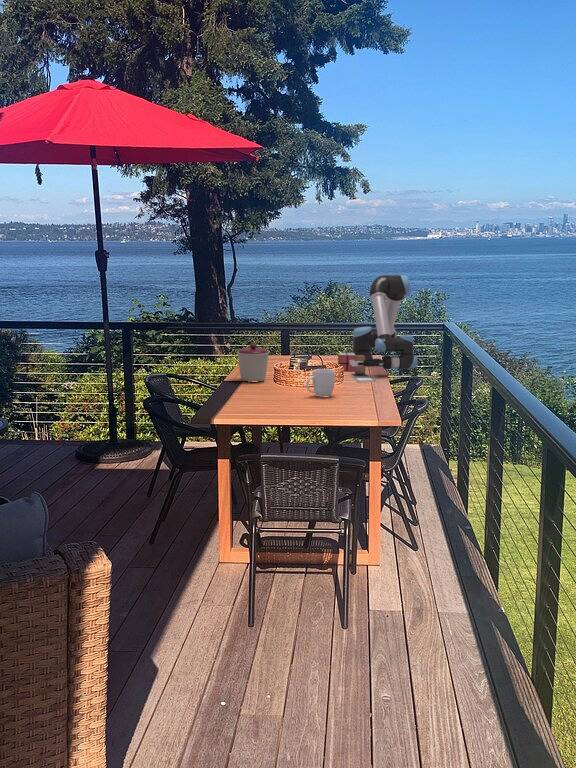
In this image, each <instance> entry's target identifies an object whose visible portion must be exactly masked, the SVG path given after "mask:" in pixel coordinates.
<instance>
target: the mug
mask: <svg viewBox="0 0 576 768" xmlns="http://www.w3.org/2000/svg"><path fill="white" fill-rule="evenodd" d="M335 377H336V371H335V370H334V369H330V368H316V369H313V370H312V375H311V376H309V377H308V378H307V379H306V383H305V384H306V385H305V387H306V390H307V391H308V392H309V393H312V394H315V395H319V396H330V397H331V395H332V394H333V392H334V388H335ZM311 379H312V386H313V390H311V389H310V386H309V383H310V380H311Z"/></svg>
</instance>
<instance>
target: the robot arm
mask: <svg viewBox="0 0 576 768" xmlns="http://www.w3.org/2000/svg"><path fill="white" fill-rule="evenodd" d="M410 283H411V282H410V279H409V277H408V276H407V275H404V274H399V275H397V274H393V275H392V274H382V275H379V276H377V277H375V279H374V280H373V281H372V282H371V285H370V288H369V299H370V300H371V301H372V308H373V315H374V320H375V321H374V322H375V327H376V328H373V327H372V326H361V327H360V326H359V327H356V328H354V330H353V332H352V334H353V335H352V353H355V355H364V356H365V360H364V363H363V361H355V360H350V365H352V366H363V365H364V366H365V368H367V367H371V368H372V367H382V368H383V370H390V369H392V370H393V369H394V371H395V370H397V369H400V370H401V369H402V370H403V369H408V370H409V369H416V368H417V366H418V365H419V364H418V363H419V362H418V361H419V360H418V356H417V355H415V354H414V344H415V343H414V340H415V339H414V335H412V334H401V335H400V337H398V336H397V335H398V334H397V330H396V329H395V324H396V320H397V319H396V318H397V316H398V312H399V307H400V304H401V301H403V300H404V299H405V296H408V295H410V292H411V284H410ZM397 337H398V338H397ZM373 348H374V349H375V350H376V352H380V353H385V352H386V353H387V352H389V353H390V352H399V354H400V355H383V357H382V358H374V357H373V353H372V349H373Z"/></svg>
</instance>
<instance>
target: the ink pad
mask: <svg viewBox="0 0 576 768" xmlns="http://www.w3.org/2000/svg"><path fill="white" fill-rule="evenodd" d="M349 376H350V377H351V378H357V377H370V376H369V375H368V374H366V373H365V374H356V373H350V374H349Z"/></svg>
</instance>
